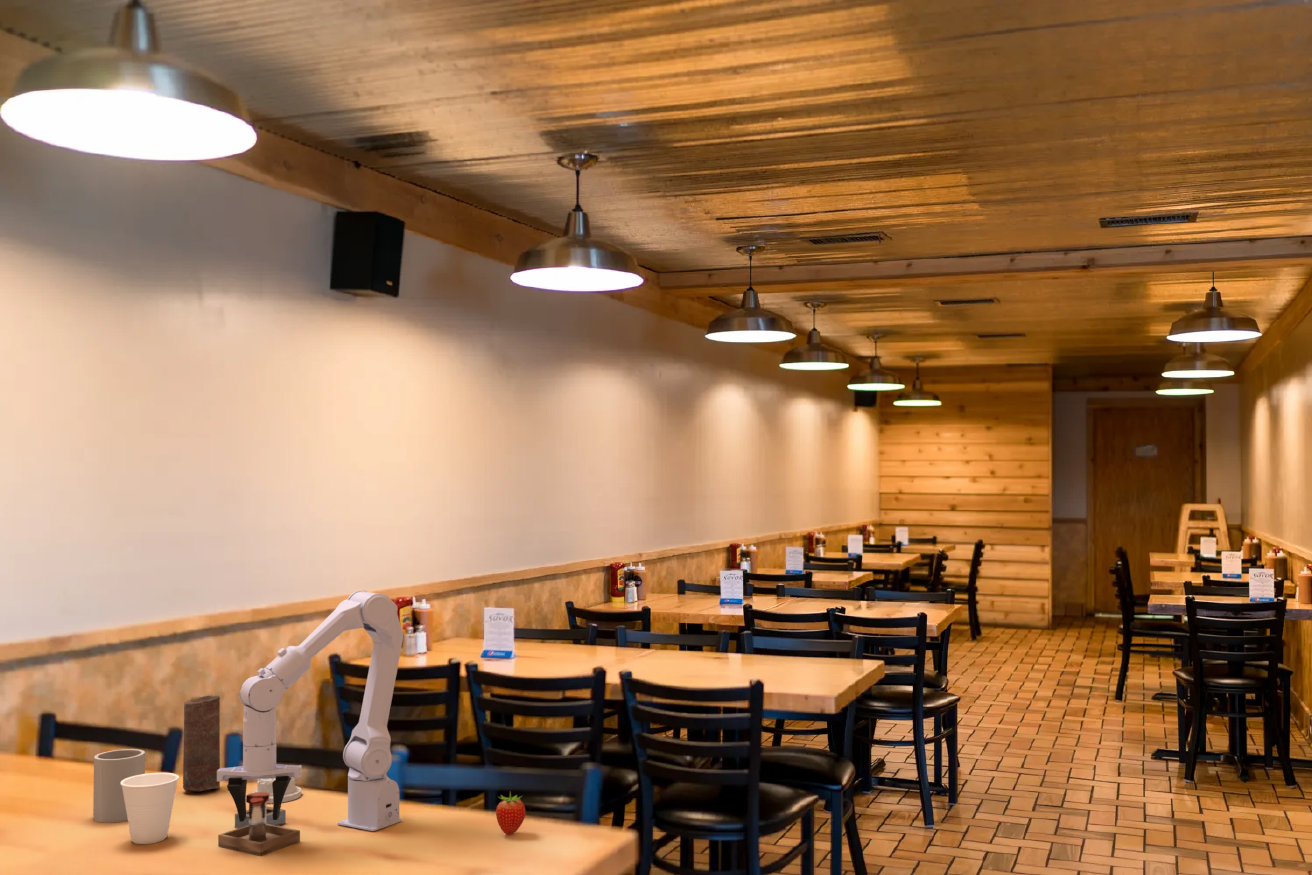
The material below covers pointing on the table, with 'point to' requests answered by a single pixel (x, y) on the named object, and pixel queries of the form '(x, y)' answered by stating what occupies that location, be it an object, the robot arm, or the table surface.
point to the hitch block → (269, 818)
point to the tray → (274, 841)
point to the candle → (201, 743)
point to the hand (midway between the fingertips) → (259, 819)
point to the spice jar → (257, 815)
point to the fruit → (510, 814)
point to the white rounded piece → (266, 786)
